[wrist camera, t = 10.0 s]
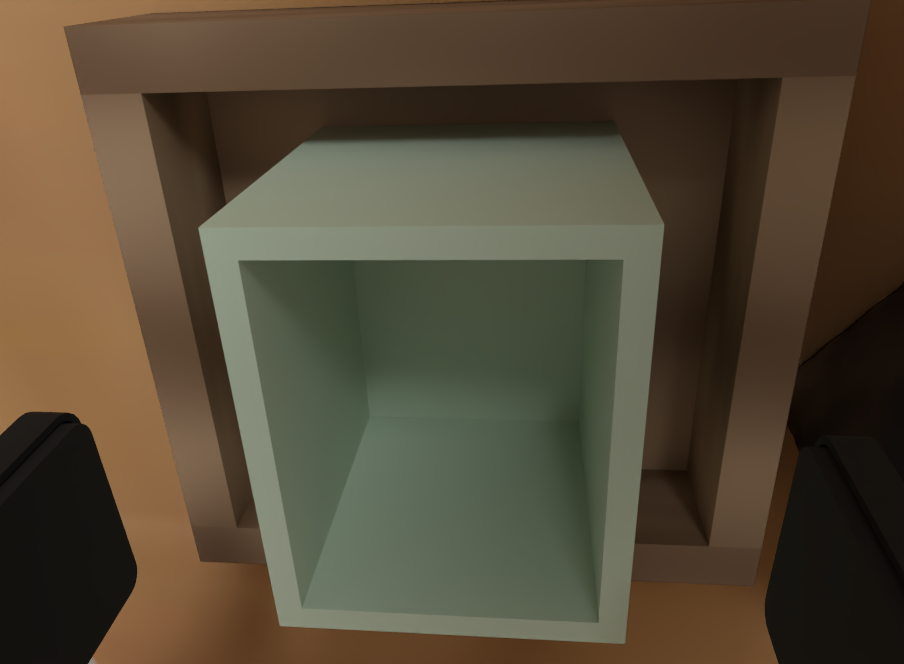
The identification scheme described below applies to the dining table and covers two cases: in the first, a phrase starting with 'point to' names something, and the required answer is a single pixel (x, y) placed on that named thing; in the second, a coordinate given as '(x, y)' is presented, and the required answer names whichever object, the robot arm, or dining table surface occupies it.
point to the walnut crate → (505, 101)
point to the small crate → (444, 374)
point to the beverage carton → (856, 384)
